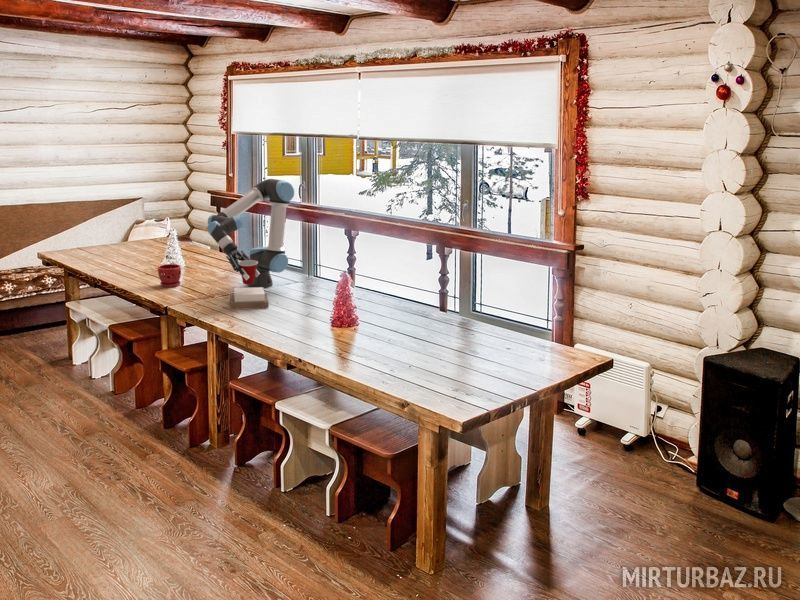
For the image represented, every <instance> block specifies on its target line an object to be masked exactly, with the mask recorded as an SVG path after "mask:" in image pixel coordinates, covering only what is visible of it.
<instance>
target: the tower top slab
mask: <svg viewBox="0 0 800 600" xmlns="http://www.w3.org/2000/svg"><path fill="white" fill-rule="evenodd" d="M264 293H265V290H264V287H234V288H233V294H234V299H235V302H253V301H265V294H264Z"/></svg>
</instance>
